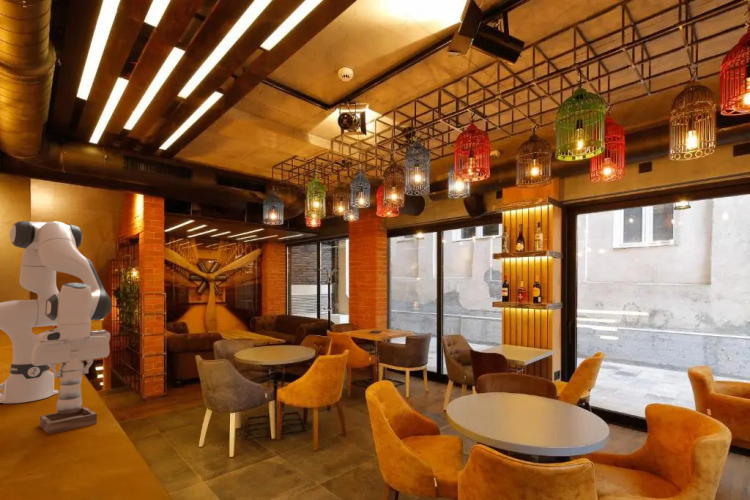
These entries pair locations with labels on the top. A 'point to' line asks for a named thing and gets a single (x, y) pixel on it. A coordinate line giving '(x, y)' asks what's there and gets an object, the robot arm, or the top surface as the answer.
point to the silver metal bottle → (70, 385)
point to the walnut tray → (67, 420)
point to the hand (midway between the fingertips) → (71, 375)
